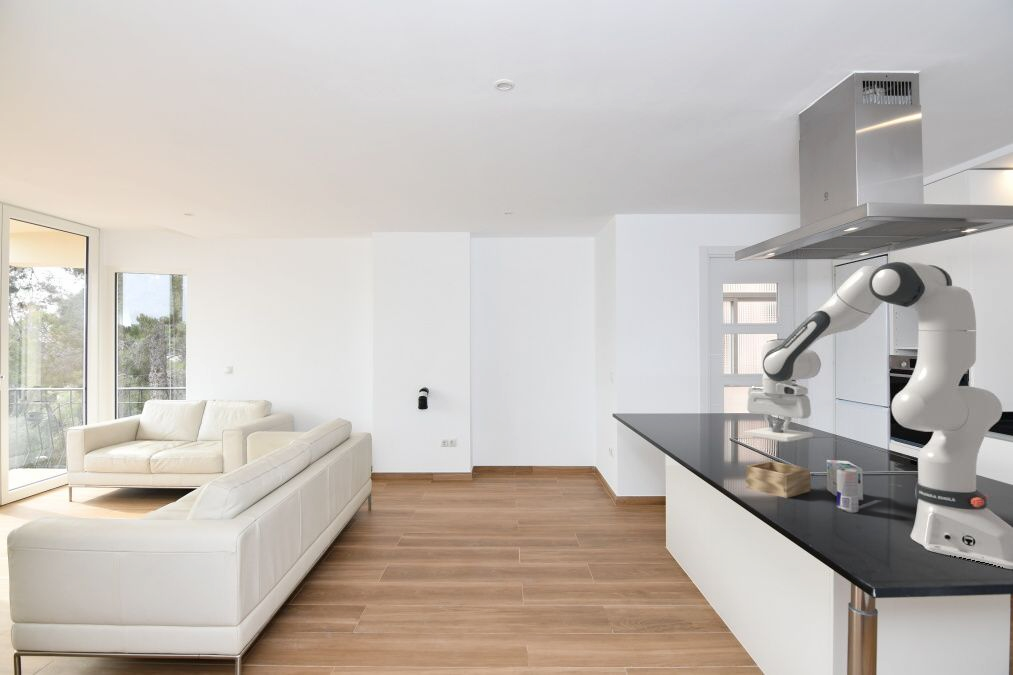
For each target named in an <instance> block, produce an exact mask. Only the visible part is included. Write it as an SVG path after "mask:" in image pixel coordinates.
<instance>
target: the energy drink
mask: <svg viewBox="0 0 1013 675" xmlns="http://www.w3.org/2000/svg"><path fill="white" fill-rule="evenodd" d="M836 507H837V508H838V509H842V512H844V513H849V514H850V513H851V514H856V513H858V512H859V500H858V472H857V470H855V469H850V468H838V470H837V496H836Z"/></svg>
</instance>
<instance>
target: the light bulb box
mask: <svg viewBox="0 0 1013 675" xmlns="http://www.w3.org/2000/svg"><path fill="white" fill-rule="evenodd" d="M838 468H850V469H855V470H857V472H858V501H863V500H864V493H863V492H864V491H863V489H864V488H863V481H864V480H863V468H862V467H860V466H857V465H856V464H853V463H852V462H850V461H848V460H836V459H835V460H834V459H833V460H831V459H827V460H826V477H827V480H826V481H827V482H826V483H827V485H826V487H827V488H826V489H827V490H828V492H830V493H832V495H834V496H835V497H837V470H838Z"/></svg>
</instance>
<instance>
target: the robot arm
mask: <svg viewBox="0 0 1013 675" xmlns="http://www.w3.org/2000/svg"><path fill="white" fill-rule="evenodd" d="M952 280H953V279H952V277H951V276H950V274H949V272H947V271H946V270H944V269H943V268H942V267H939V266H937V265H932V264H924V263H921V262H920V263H919V262H915V261H914V262H911V261H910V262H909V261H902V262H901V261H893V262H889V263H885V264H883V265H880V266H878V265H864V266H861V267H860V268H859V269H858V270H856V271H855V272H854V273H853V274H851V275H850V276H849V277H848V278H847V279H845V281H844V282H843V283H842V284H841V285H840V286H839V288H837V290H836V291H835V292H834V293H833V295H832V296H831V297H830V298H829V299H828V300H826V302H824V304H822V306H821V307H819V308H818V309H817V310H816V311H815V312H813V313H812V314H811V315H809V316H808V317H806V319H805V320H804V321H802V322H801V324H800V325H798V327H796V329H794V331H793V332H792V333H791V334H790V335H789V336H788V337H787V338H778V339H772V340H767V341H766V342H765V343H764V344H763V346H762V352H761V367H762V371H763V373H762V377H761V383H762V386H754V385H753V386H751V387H750V388H749V389H748V390H747V391H748V392H747V393H748V394H747V396H748V397H747V398H748V399H747V402H746V406H747V407H746V408H747V409H746V410H747V412H748V413H750V414H756V415H757V414H758V415H759V414H760V415H763V418H764V420H765V422H766V424H767V427H768V428H771V429H772V423H773V421H772V419H771V418H772V416H776V417H777V416H778V417H783V420H784V422H783V425H781V430H789V425H790V423H791V421H792V418H795V419H803V420H804V419H808V418H809V417H811V414H812V412H811V411H812V409H811V402H810V401H811V400H810V399H809V398H810V397H809V396H808V395H807V394H808V393H809V389H808V388H807V387H805V386H803V385H800V384H798V383H796V382H793V381H795V380H797V381H798V380H809V379H812V378H815V377H816V376H817V375H818V374H819V372H820V370H821V365H822V364H821V359H820V357H819V355H818V354H817V353H816V352H815V351H813V350H810V347H811V346H813V344H815V343H816V342H817V341H819V340H820V339H822V338H824V337H827V336H830V335H833V334H837V333H842V332H846V331H851V330H854V329H856V328H858V327H859V326H861V325H862V324H863V323H865V322H866V321H867V320H868V319H869V318H870V317H871V316H872V315H873V314H874V313H875V312H876V311H877V309H878V308H879V307H880V306H881V305H882V304H883V303H888V304H891V305H897V306H899V307H903V308H908V307H912V308H913V309H914V310H915V311H916V313H917V316H918V317H917V318H918V324H917V326H918V328H917V329H918V331H917V332H918V334H917V336H918V337H917V355H916V356H917V357H916V363H915V367H914V370H913V372H912V374H911V376H910V378H909V380H908V382H907V384H906V385H905V386H904V387H903V389H902V390H900V391H898V393H896V394H895V395H894V397H893V398H892V401H891V414H892V416H893V418H894V420H895V421H896V422H897V423H898V424H899V425H900V426H902V428H906V429H909V430H915V431H919V432H932V435H931V438H930V440H929V441H928V442H927V443H926V444H925V445H924V446H922V448H921V449H920V450H919V451H918V454H917V470H918V471H917V476H918V477H917V482H916V483H915V491H914V492H915V502H916V504H917V506H916V514H915V520H914V525H913V528H912V530H911V533H910V538H911V539H912V540H913V541H915V542H916V543H918V544H919V545H922V546H923V547H924V549H925V550H927V551H930V552H933V553H937V554H941V555H947V556H950V555H951V557H954V556H956V557H955V558H959V557H962V558H961V559H963V558H966V559H965V560H967V559H971V560H970V561H972V560H975V561H974V562H976V561H980V562H985V563H989V564H993V565H992V566H994V565H996V566H995V567H998V566H1000V567H999V568H1002V567H1003V568H1004V569H1007V570H1013V526H1011V525H1010V524H1009V523H1007V521H1004V520H1003V519H1002V518H1000V517H999V516H998V515H997V514H995V513H994V512H993V511H991V510H990V509H989V508H988V500H989V494H985V495H984V494H983V493H982V492H981V491H979V490H978V489H977V461H978V455H979V452H980V449H981V446H982V444H983V441H984V438H986V437H985V436H986V435H987V434H988V432H989V431H990V429H991V428H992V427H993V426H994V425H995V424H997V423H998V422H999V421H1000V420H1001V417H1002V414H1003V407H1002V403H1001V401H1000V399H999V398H998V397H997V395H996V394H995V393H993V392H992V391H989V390H987V389H983V388H980V387H975V386H968V385H960V382H961V380H962V378H963V376H964V374H966V372H967V371H968V370H970V369H971V368H972V367H973V366H974V365H975V363H976V360H977V317H976V312H975V311H976V310H975V305H974V301H973V298H972V295H971V293H970V292H969V291H968V290H967V289H965V288H962V287H959V286H956V285H955V286H954V285H953V281H952ZM980 562H979V563H980ZM985 563H984V564H985ZM989 564H988V565H989Z"/></svg>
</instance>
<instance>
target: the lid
mask: <svg viewBox="0 0 1013 675" xmlns="http://www.w3.org/2000/svg"><path fill="white" fill-rule="evenodd" d="M783 424H784V422H779V421H776V422H775V421H772V429H771V428H768V426H767V427H760V428H755V429H749V430H744V431H743V435H744V436H751V437H752V438H753V439H762V440H768V441H774V442H781V443H788V442H793V441H799V440H804V439H807V438H813V437H814V433H813V432H809V431H803V430H802V431H801V430H795V429H794V430H793V429H788V430H781V425H783Z"/></svg>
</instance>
